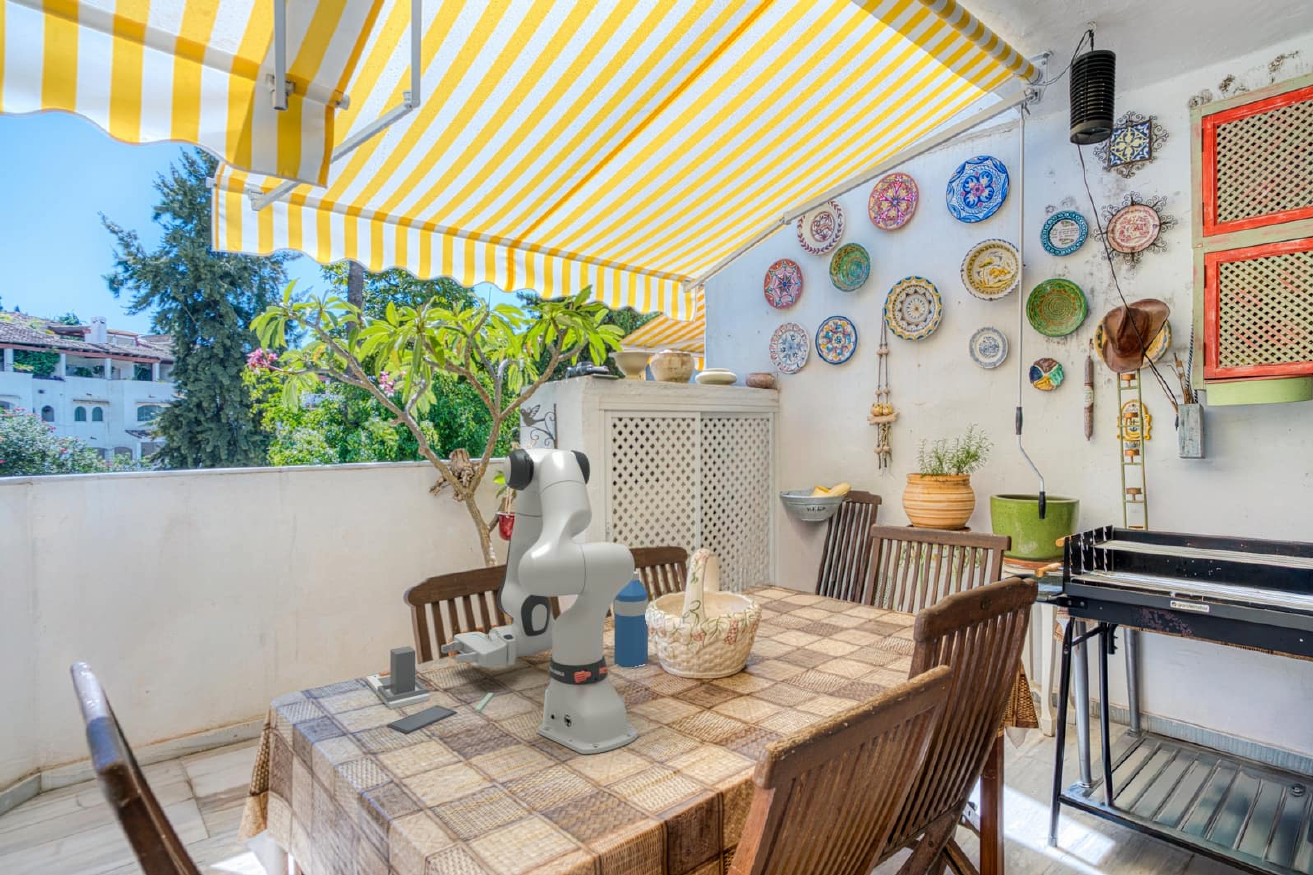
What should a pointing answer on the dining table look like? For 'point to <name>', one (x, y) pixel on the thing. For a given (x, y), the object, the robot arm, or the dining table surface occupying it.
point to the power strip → (395, 701)
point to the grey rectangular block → (402, 670)
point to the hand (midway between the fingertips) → (448, 654)
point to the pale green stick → (484, 702)
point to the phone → (421, 719)
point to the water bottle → (631, 625)
